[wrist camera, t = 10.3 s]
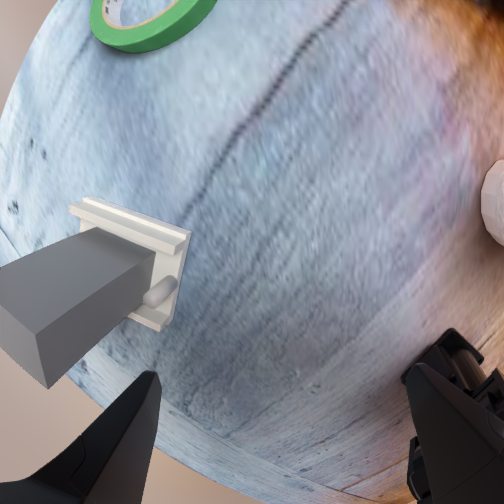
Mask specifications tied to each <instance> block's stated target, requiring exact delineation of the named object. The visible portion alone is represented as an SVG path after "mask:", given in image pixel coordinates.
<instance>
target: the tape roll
mask: <svg viewBox="0 0 504 504" xmlns="http://www.w3.org/2000/svg"><path fill="white" fill-rule="evenodd" d="M123 1H124V0H94V1H93V3H92V7H91V11H90V26H91V29H92V32H93V34H94V35H95V36H96V38H97V39H98V40H100V41H101V42H103V43H105V44H107V45H109V46H112V47H114V48H116V49H119V50H121V51H124V52H129V53H141V52H148V51H152V50H155V49H159V48H161V47H164V46H166V45H168V44H170V43H172V42H174V41H176V40H178V39H179V38H181V37H183V36H184V35H186V34H187V33H188V32H190V31H191V30H192V29H193V28H195V27H196V26H197V25H198V24H199V23H200V22H201V21H202V20H203V19H204V18H205V17H206V16H207V15H208V14H209V12H210V11H211V10H212V8H213V7H214V5H215V4H216V2H217V0H175V1H174V2H173V3H172V4H171V5H170V6H169V7H167V8H166V9H165V10H164V11H162V12H161V13H160V14H158V15H156V16H155V17H153V18H151V19H148V20H146V21H143V22H142V23H141V24H138V25H134V26H127V27H122V25H121V22H120V9H121V6H122V4H123Z"/></svg>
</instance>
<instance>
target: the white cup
mask: <svg viewBox="0 0 504 504" xmlns="http://www.w3.org/2000/svg"><path fill="white" fill-rule="evenodd" d="M481 214H482V217H483V220H484V223H485V227H486V230H487V231H488V232H489V233H490V234H491V236H492V237H493V238H494V239H495V240H496V241H497V242H498V243H500V244H501V245H503V246H504V159H502V160H498V161H496V162H495V164H494V165H493V166H492V167H491V169H490V170H489V171H488V172H487V173H486V177H485V180H484V183H483V187H482V190H481Z"/></svg>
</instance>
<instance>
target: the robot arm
mask: <svg viewBox="0 0 504 504" xmlns="http://www.w3.org/2000/svg"><path fill="white" fill-rule="evenodd" d="M451 334H453V335H451ZM450 335H451V336H450ZM483 361H484V357H483V355H482V354H481V353H480V352H479V351H478V350H477V349H476V348H475V347H474V346H473V345H471V344H470V343H469V342H468V341H467V340H466V339H465V338H464V337H463V336H462V335H461V334H460V333H459V332H458V331H457V330H456V329H454V328H451V329H449V330H448V331H447V332H446V333H445V334H444V335H443V337H442V338H441V339H440V340H439V341H438V342H437V343H436V344H435V345H434V346H433V347H432V348H431V349H430V350H429V351H428V352H427V353H426V354H425V355H424V356H423V357H422V358H421V359H420V360H419V361H418V362H417V363H415V364H414V365H413V366H412V367H411V368H410V369H409V370H408V371H407V372H406V373H405V374H403V375H402V377H401V382H402V384H404V385H405V386H406V389H407V394H408V399H409V404H410V409H411V414H412V418H413V422H414V426H415V429H416V432H417V436H415V437H414V438H412V439H411V440H410V450H409V462H408V471H407V485H408V486H409V489H410V491H411V493H412V495H413V496H414V498H415V499H416V500H417V504H504V375H503V374H502V373H501V372H500V371H499V370H498V368H497V367H496V369H495V370H494V371H493V372H492V374H491V375H490V376H489V377H488V378H487V377H486V375H485V374H484V372H483V370H482V369H481V367H480V365H481V364H482V362H483ZM161 393H162V388H161V384H160V380H159V377H158V374H157V372H155V371H147V370H146V371H144V372H142V373H141V374H140V376H139V377H138V378H137V379H136V380H135V381H134V382H133V383H132V384H131V385H130V386H129V387H128V388H127V389H126V390H125V391H124V392H123V393H122V394H121V395H120V396H119V397H118V398H117V399H116V400H115V401H114V402H113V403H112V404H111V405H110V406H109V407H108V408H107V409H106V410H105V411H104V412H103V413H102V414H101V415H100V416H99V417H98V418H97V419H96V420H95V421H94V422H93V423H92V424H91V425H90V426H89V427H88V428H87V429H86V430H85V431H84V432H83V433H82V434H81V435H79V436H78V437H77V439H76V440H75V441H74V442H72V443H71V444H70V445H69V446H68V447H67V448H66V449H65V450H64V451H63V452H61V453H60V454H59V455H58V456H56V457H55V458H54V459H52V460H51V461H50V462H49V463H47V464H46V465H44V466H43V467H42V468H40V469H39V470H38V471H37V472H35V473H34V474H32V475H31V476H29V477H27V478H25V479H22V480H19V481H12V482H3V483H0V504H141V501H142V496H143V491H144V487H145V482H146V477H147V472H148V468H149V463H150V459H151V455H152V449H153V446H154V442H155V437H156V433H157V427H158V418H159V409H160V401H161Z"/></svg>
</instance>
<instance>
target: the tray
mask: <svg viewBox="0 0 504 504" xmlns="http://www.w3.org/2000/svg"><path fill="white" fill-rule="evenodd" d="M69 213H71V214H73V215H75V216H78V217H80V218H81V221H80V233H81V232H84V231H86V230H89V229H92V228H94V227H99V228H101V229H103V230H105V231H108V232H110V233H112V234H115V235H117V236H119V237H122V238H124V239H126V240H129V241H131V242H133V243H136V244H138V245H140V246H143V247H145V248H148V249H150V250H152V251H155V252H156V256H155V261H154V267H153V273H152V279H151V285H150V290H149V291H148V292H147V293H145V294H144V296H143V302H142V303H141V304H140V305H139V306H138V307H137V308H135V309H134V310H133V311H132V312H131V313H130V314H129V315H128V316H127V317H129V318H131V319H133V320H135V321H137V322H139V323H141V324H143V325H145V326H147V327H149V328H151V329H154V330H156V331H158V332H161V330H162V329H163V328H164V327H165V326H166V325H169V324H170V322H171V321H172V320H173V316H174V311H175V306H176V301H177V296H178V291H179V286H180V281H181V277H182V272H183V268H184V263H185V258H186V254H187V250H188V245H189V241H190V237H191V233H192V232H191V231H188V230H185V229H183V228H180V227H177V226H174V225H172V224H169V223H166V222H163V221H161V220H158V219H155V218H152V217H150V216H147V215H144V214H141V213H138V212H136V211H133V210H130V209H127V208H125V207H122V206H119V205H116V204H114V203H111V202H108V201H105V200H103V199H100V198H97V197H94V196H92V195H89V196H85V197H83V201H81V202H77V203H73V204H70V207H69Z"/></svg>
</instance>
